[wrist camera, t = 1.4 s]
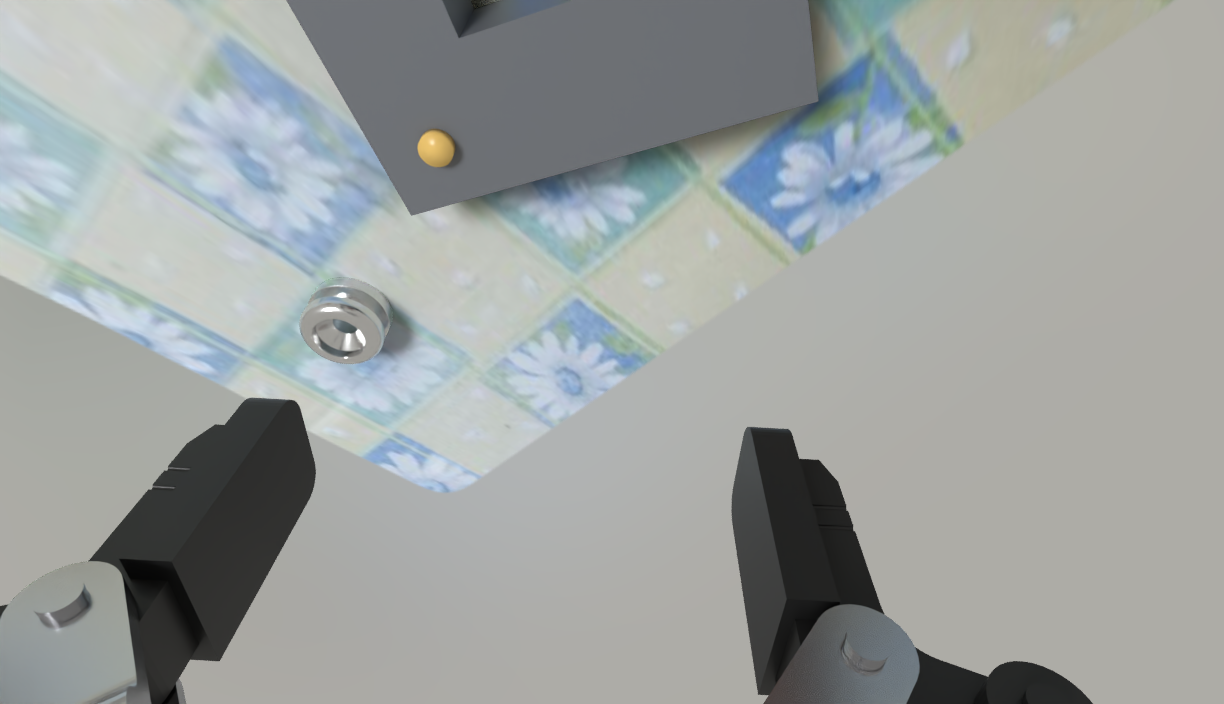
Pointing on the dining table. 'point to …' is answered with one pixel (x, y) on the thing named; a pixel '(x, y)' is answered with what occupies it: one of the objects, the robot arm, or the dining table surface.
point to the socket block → (550, 81)
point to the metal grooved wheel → (346, 320)
